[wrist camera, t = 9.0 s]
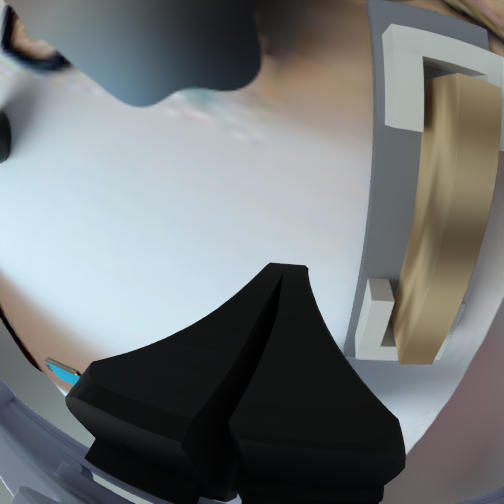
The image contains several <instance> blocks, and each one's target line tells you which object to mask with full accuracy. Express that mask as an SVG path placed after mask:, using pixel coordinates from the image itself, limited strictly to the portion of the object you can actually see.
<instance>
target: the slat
mask: <svg viewBox="0 0 504 504" xmlns="http://www.w3.org/2000/svg"><path fill="white" fill-rule="evenodd" d="M501 111H502V99H501V88H500V87H498V86H495V85H493V84H490V83H487V82H485V81H482V80H479V79H476V78H473V77H470V76H467V75H464V74H461V73H456V74H451V75H446V76H441V77H436V78H431V79H427V80H424V128H423V132H422V137H421V152H420V164H419V174H418V182H417V190H416V198H415V205H414V211H413V217H412V223H411V228H410V234H409V239H408V244H407V248H406V253H405V258H404V262H403V266H402V270H401V274H400V278H399V282H398V286H397V290H396V294H395V297H394V305H393V309H392V312H391V315H390V316H391V321H392V327H393V332H394V337H395V343H396V349H397V355H398V361H399V364H432V363H433V361H434V359H435V357H436V355H437V353H438V351H439V350H440V348H441V346H442V344H443V342H444V340H445V338H446V336H447V334H448V331H449V329H450V327H451V325H452V323H453V321H454V318H455V316H456V314H457V311H458V309H459V307H460V304H461V302H462V299H463V297H464V294H465V292H466V289H467V287H468V284H469V281H470V278H471V275H472V273H473V270H474V267H475V264H476V261H477V257H478V254H479V251H480V247H481V244H482V240H483V237H484V233H485V229H486V225H487V221H488V217H489V212H490V208H491V203H492V198H493V192H494V187H495V181H496V174H497V167H498V158H499V148H500V136H501Z"/></svg>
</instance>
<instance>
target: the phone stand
mask: <svg viewBox="0 0 504 504" xmlns="http://www.w3.org/2000/svg"><path fill="white" fill-rule="evenodd" d="M45 361H46V362H47V363H48V364H49V366H48V365H46V366H47V367H48V368H49V369H50V368H51V369H50V370H52V371H54V372H55V374H56V375H57V376H58V377H59V378H60V379H62V380H64V381H66V382H68V383H70V384H72V385H75V384H76V382H77V381H78V380H79V378H80V377H81V375H80V376H78V375H77V374H76V372H77V370H75V369H72V368H70V367H68V366H65V365H63V364H61V363H59V362H57V361H55V360H52V359H50V358H46V360H45Z"/></svg>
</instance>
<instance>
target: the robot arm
mask: <svg viewBox="0 0 504 504" xmlns="http://www.w3.org/2000/svg"><path fill="white" fill-rule="evenodd" d="M65 401H66V405H67V407H68V409H69V410H70V412H71V413H72V414H73V415H74V416H75V417H76V418H77V420H78V421H79V422H80V423H81V424H82V425H83V426H84V427H85V428H86V429H87V430H88V431H89V432H90V433H91V434H92V435H93V436H94V437H95V438H96V439H95V441H94V443H93V444H92V446H91V448H88V447H86V446H85V445H83V444H82V443H80V442H78V441H76V440H75V439H74V438H72V437H70V436H69V435H67V434H66V433H64V432H63V431H61V430H60V429H58V428H57V427H55V426H54V425H53V424H51V423H50V422H49V421H47V420H46V419H44V418H43V417H42V416H40V415H39V414H38V413H37V412H35V411H34V410H33V409H31V408H30V407H29V406H28V405H26V404H25V403H24V402H23V401H22V400H20V399H19V398H18V397H17V396H16V395H15V394H14V392H13V391H12V390H11V389H10V387H9V386H8V385H7V384H6V383H5V382H4V381H3V379H1V377H0V478H1V479H2V481H3V483H4V484H5V485H6V487H7V488H8V490H9V491H10V493H11V494H12V495H13V499H12V500H11V502H10V504H135V503H133V502H131V501H129V500H127V499H125V498H123V497H121V496H119V495H118V494H116V493H114V492H112V491H111V490H109V489H107V488H105V487H104V486H102V485H100V484H99V483H97V482H95V481H94V480H93V475H92V472H93V473H94V474H96V475H98V476H99V477H101V478H103V479H105V480H106V481H108V482H110V483H112V484H114V485H116V486H118V487H119V488H121V489H123V490H125V491H127V492H129V493H131V494H134V495H136V496H138V497H140V498H142V499H144V500H147V501H149V502H151V503H154V504H379V502H381V501H382V499H383V492H384V485H386V484H387V483H388V482H390V481H391V480H392V479H394V478H395V477H396V476H398V475H399V474H400V472H401V471H402V470H403V469H404V468H405V460H406V452H405V445H404V440H403V435H402V431H401V427H400V423H399V420H398V418H396V417H395V416H394V415H393V414H392V413H391V412H390V411H389V410H388V409H387V408H386V407H385V406H384V405H383V404H382V402H381V401H380V400H379V399H378V398H377V397H376V396H375V395H374V394H373V393H372V392H371V390H370V389H369V388H368V387H367V386H366V384H365V383H364V382H363V381H362V380H361V378H360V377H359V376H358V374H357V373H356V372H355V370H354V369H353V368H352V366H351V365H350V364H349V362H348V361H347V359H346V358H345V357H344V355H343V354H342V352H341V350H340V349H339V347H338V346H337V344H336V342H335V341H334V339H333V337H332V335H331V334H330V332H329V330H328V328H327V326H326V324H325V322H324V320H323V318H322V315H321V313H320V311H319V308H318V306H317V303H316V301H315V298H314V295H313V292H312V289H311V285H310V281H309V276H308V268H307V267H306V266H305V265H293V264H280V263H269V264H268V265H266V266H265V267H264V268H263V269H262V270H261V271H260V272H259V273H258V274H257V275H256V276H255V277H254V278H253V279H252V280H251V281H250V282H249V283H248V284H247V285H245V286H244V287H243V288H242V289H241V290H240V291H239V292H238V293H236V294H235V295H234V296H233V297H232V298H230V299H229V300H228V301H226V302H225V303H224V304H223V305H221V306H220V307H219V308H217V309H216V310H215V311H213V312H212V313H210V314H209V315H207V316H206V317H204V318H202V319H201V320H199V321H197V322H196V323H194V324H192V325H191V326H189V327H187V328H185V329H183V330H181V331H179V332H177V333H175V334H173V335H171V336H169V337H167V338H165V339H162V340H160V341H157V342H155V343H153V344H150V345H148V346H145V347H142V348H139V349H137V350H134V351H131V352H128V353H124V354H121V355H117V356H113V357H110V358H106V359H102V360H98V361H93V362H92V363H91V364H90V365H89V366H88V368H87V369H86V370H85V372H84V373H83V374H82V376H81V377H80V378H79V380H78V381H77V382H76V384H75V385H74V386H73V388H72V389H71V390H70V392H69V393H68V394H67V396H66V400H65ZM90 471H91V472H90ZM453 504H504V487H502V488H499V489H497V490H494V491H492V492H489V493H486V494H483V495H480V496H477V497H474V498H471V499H467V500H464V501H460V502H457V503H453Z"/></svg>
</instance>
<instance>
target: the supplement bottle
mask: <svg viewBox="0 0 504 504" xmlns="http://www.w3.org/2000/svg"><path fill="white" fill-rule="evenodd" d="M9 148H10V128H9V123H8V120H7V117H6V116H5V114H4V113H3V112H1V111H0V164H1V163H2V162H4V160H5V159H6V157H7V155H8V152H9Z"/></svg>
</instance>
